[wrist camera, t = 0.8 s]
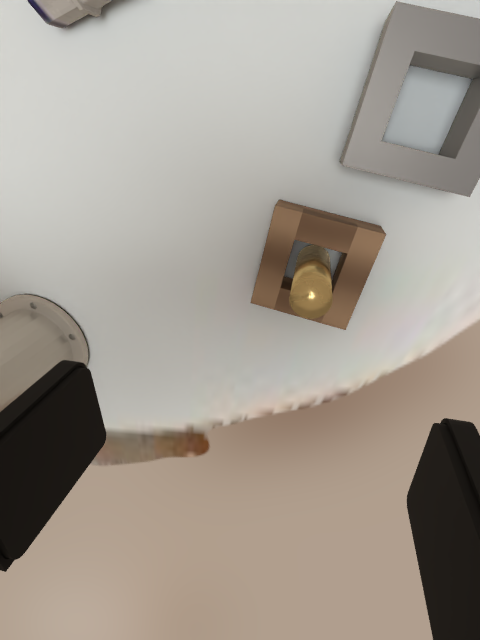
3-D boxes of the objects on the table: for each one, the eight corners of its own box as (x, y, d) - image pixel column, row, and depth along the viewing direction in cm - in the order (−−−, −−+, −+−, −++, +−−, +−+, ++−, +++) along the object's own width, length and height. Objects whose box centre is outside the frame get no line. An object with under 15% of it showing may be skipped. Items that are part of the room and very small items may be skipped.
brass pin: (323, 279, 33) (324, 323, 25) (293, 271, 33) (284, 312, 25) (334, 249, 31) (338, 286, 24) (302, 241, 32) (296, 274, 24)
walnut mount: (343, 315, 34) (345, 329, 32) (255, 290, 35) (250, 302, 32) (380, 226, 30) (386, 234, 27) (279, 199, 30) (275, 205, 28)
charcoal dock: (450, 189, 27) (469, 197, 24) (339, 161, 28) (342, 165, 25) (519, 49, 23) (554, 34, 20) (385, 21, 24) (396, 1, 20)
